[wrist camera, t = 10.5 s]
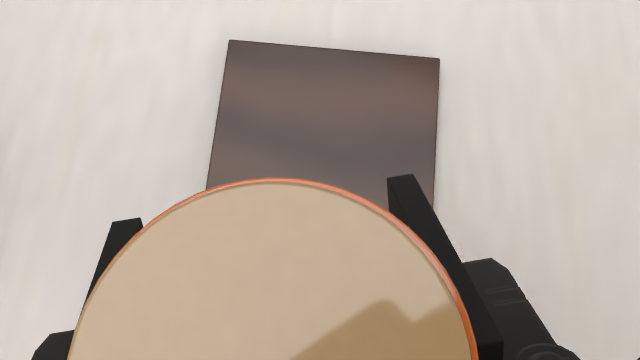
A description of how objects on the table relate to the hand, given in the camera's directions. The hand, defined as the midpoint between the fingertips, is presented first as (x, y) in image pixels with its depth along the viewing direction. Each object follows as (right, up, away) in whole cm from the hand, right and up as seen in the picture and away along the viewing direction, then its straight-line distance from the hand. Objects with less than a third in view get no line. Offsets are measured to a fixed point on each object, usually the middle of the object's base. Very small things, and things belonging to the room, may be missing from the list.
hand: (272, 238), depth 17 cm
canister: (+1, -4, +1) cm, 4 cm away
